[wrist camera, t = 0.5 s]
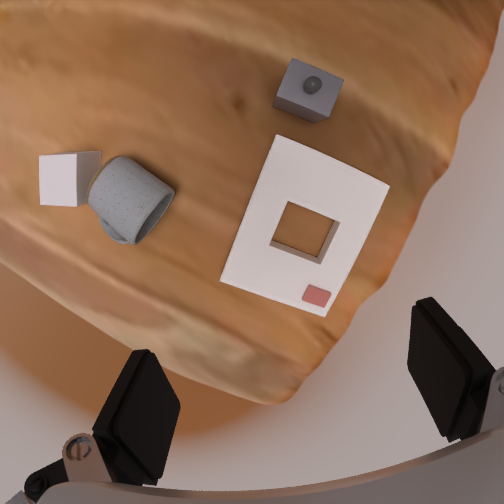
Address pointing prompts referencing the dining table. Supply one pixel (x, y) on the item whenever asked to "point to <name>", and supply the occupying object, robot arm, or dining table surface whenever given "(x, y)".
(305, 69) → the plug
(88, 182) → the light grey cube
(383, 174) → the dining table surface
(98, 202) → the ceramic mug
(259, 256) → the socket plate
